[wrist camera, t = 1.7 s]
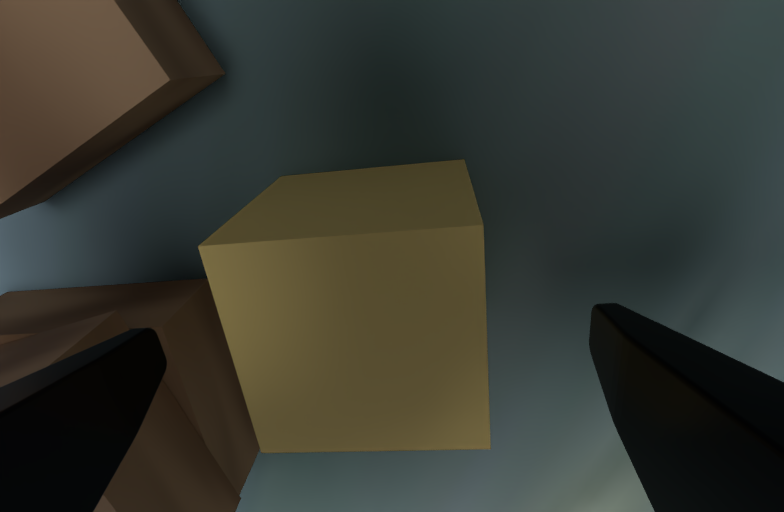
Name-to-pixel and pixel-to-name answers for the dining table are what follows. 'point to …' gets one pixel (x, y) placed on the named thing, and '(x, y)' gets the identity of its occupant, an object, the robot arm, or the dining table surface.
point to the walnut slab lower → (179, 342)
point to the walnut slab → (87, 85)
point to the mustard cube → (358, 310)
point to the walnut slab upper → (153, 441)
